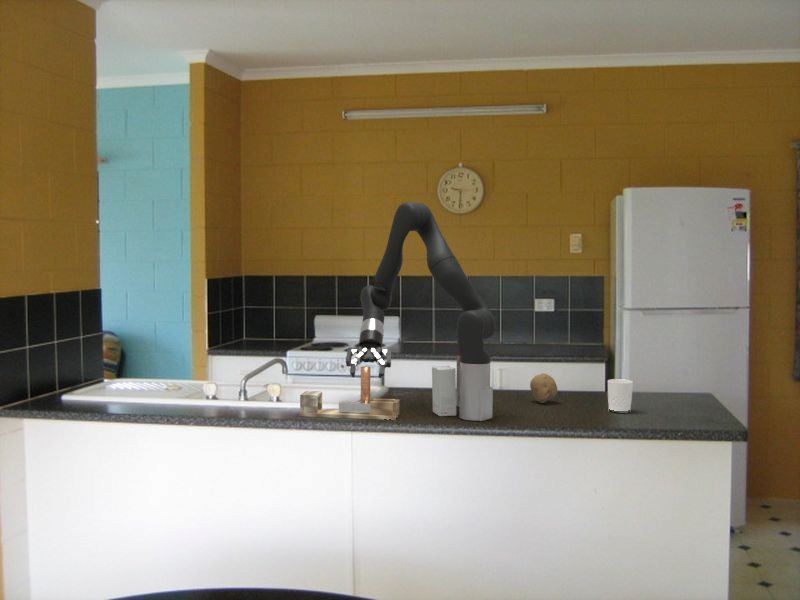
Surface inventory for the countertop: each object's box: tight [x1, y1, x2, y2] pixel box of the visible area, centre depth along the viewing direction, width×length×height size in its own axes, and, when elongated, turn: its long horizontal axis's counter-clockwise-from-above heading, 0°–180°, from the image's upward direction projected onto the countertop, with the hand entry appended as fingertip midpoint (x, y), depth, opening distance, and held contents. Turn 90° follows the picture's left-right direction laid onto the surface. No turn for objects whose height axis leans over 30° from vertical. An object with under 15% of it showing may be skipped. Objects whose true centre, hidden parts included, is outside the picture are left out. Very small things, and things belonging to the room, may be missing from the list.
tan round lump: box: [529, 373, 558, 403], centre depth 275 cm, size 9×9×10 cm
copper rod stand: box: [338, 366, 372, 413], centre depth 250 cm, size 16×3×14 cm, turn 82°
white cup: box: [607, 378, 634, 411], centre depth 261 cm, size 8×8×10 cm
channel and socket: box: [298, 390, 400, 421], centre depth 251 cm, size 30×8×7 cm, turn 82°
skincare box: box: [431, 365, 457, 417], centre depth 255 cm, size 8×6×15 cm
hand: (366, 376), depth 253 cm, fingers open, 8 cm apart
